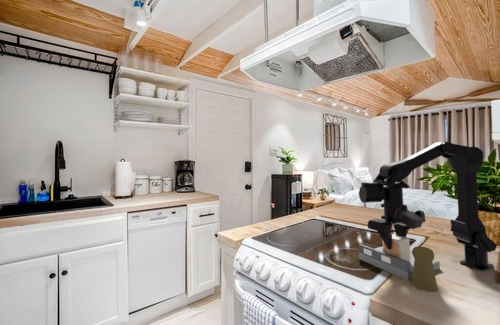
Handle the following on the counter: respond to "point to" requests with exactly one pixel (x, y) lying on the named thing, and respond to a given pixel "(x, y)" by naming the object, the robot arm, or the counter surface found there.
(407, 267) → the shelf
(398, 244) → the tea box
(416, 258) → the olive pawn
